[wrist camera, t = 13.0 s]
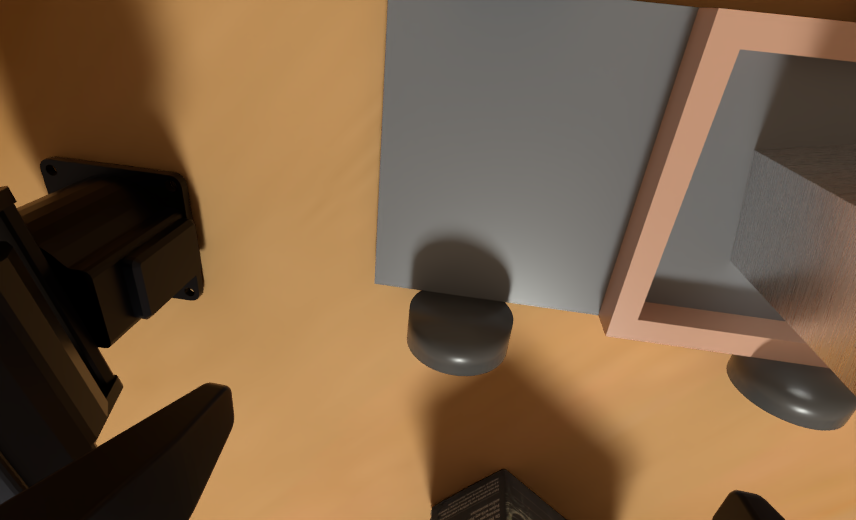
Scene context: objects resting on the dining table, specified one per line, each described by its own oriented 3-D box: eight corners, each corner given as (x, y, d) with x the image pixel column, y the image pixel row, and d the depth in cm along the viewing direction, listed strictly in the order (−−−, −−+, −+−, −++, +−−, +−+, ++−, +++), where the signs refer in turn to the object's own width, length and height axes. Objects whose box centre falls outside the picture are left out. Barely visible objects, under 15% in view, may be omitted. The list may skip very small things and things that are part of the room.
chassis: (377, 300, 23) (355, 360, 19) (397, -80, 16) (367, -107, 12) (847, 368, 22) (924, 445, 18) (1104, -10, 15) (1324, -14, 11)
